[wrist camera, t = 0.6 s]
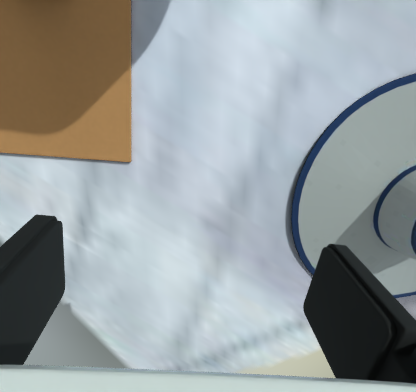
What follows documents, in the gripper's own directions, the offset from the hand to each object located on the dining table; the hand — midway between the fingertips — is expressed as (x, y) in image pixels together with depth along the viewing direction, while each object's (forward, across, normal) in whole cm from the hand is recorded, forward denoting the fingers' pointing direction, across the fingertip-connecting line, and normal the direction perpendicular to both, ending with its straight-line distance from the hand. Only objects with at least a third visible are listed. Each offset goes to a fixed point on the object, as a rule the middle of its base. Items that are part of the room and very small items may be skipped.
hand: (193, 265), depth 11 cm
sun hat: (+30, -34, +6) cm, 45 cm away
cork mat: (+30, +17, -6) cm, 35 cm away
